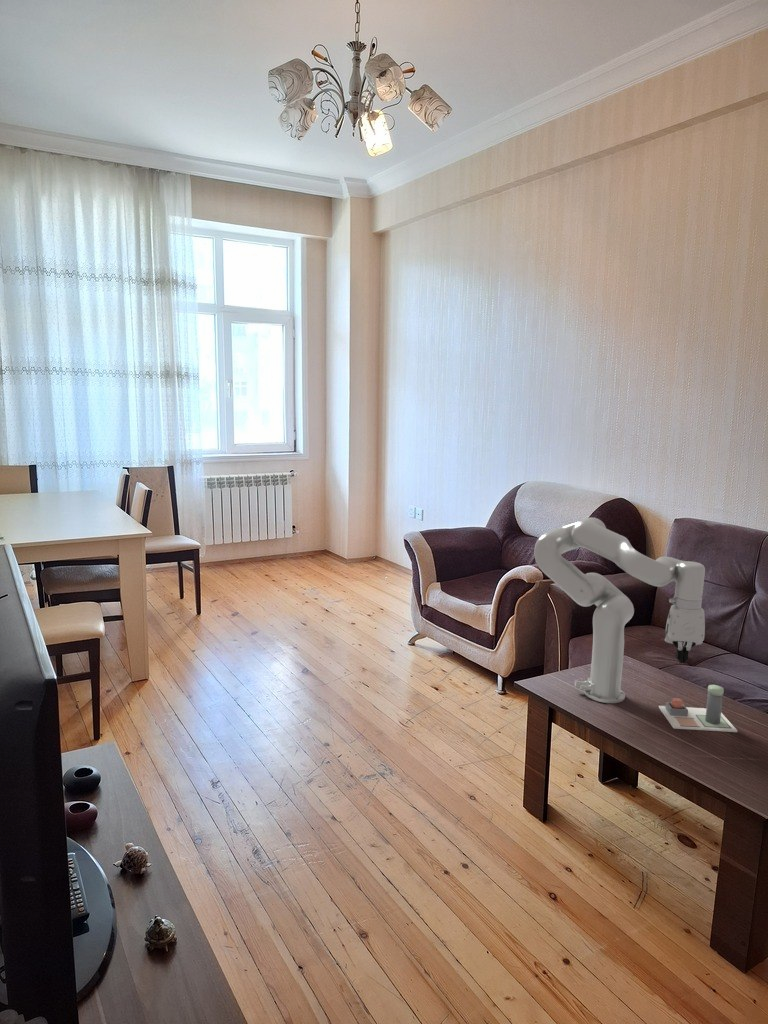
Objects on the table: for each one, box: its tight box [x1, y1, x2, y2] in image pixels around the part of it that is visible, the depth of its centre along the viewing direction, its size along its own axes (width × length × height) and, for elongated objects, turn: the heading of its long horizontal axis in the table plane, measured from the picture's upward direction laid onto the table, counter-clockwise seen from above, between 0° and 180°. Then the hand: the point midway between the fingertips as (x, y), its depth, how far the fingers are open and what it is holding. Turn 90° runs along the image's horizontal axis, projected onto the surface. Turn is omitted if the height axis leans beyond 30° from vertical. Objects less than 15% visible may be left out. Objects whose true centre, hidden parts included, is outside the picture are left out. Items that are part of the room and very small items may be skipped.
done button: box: [670, 697, 684, 709], centre depth 208 cm, size 3×3×2 cm
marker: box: [705, 684, 725, 724], centre depth 202 cm, size 4×4×11 cm
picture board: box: [658, 701, 738, 733], centre depth 205 cm, size 18×14×2 cm
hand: (681, 661), depth 206 cm, fingers closed
